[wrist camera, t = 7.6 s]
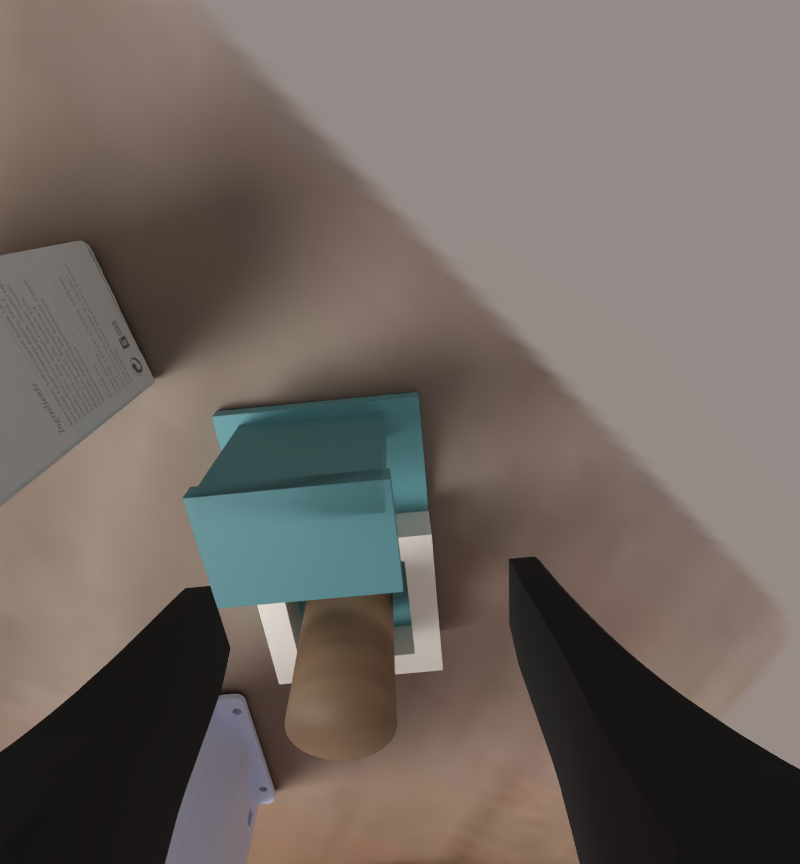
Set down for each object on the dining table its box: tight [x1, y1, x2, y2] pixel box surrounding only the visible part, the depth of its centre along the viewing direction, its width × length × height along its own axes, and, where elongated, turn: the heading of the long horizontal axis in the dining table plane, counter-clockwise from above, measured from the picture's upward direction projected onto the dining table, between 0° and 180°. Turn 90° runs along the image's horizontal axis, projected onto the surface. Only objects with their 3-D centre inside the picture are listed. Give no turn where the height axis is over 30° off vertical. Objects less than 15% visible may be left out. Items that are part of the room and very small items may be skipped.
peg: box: [285, 593, 397, 761], centre depth 21 cm, size 4×4×7 cm
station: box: [182, 392, 443, 684], centre depth 21 cm, size 14×8×6 cm, turn 5°
